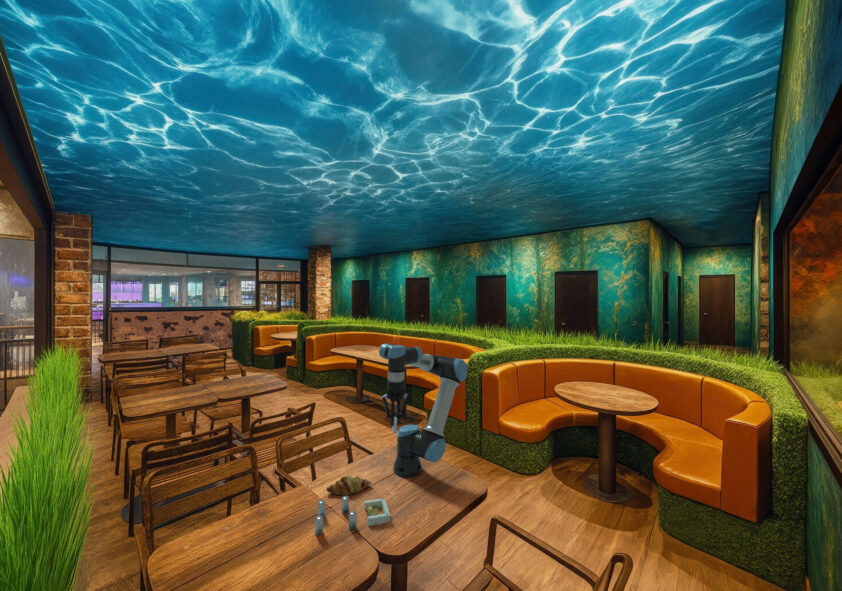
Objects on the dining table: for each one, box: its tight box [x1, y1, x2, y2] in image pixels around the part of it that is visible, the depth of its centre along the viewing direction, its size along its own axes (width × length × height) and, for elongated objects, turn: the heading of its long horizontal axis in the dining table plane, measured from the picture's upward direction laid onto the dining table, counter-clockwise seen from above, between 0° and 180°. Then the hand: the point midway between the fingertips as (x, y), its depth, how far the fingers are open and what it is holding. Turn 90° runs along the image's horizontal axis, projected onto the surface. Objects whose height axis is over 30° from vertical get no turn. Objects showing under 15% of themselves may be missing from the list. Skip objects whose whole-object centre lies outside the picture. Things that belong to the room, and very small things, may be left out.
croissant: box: [326, 475, 372, 496], centre depth 165 cm, size 21×10×8 cm, turn 113°
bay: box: [363, 497, 391, 527], centre depth 148 cm, size 12×9×3 cm
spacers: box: [314, 495, 358, 537], centre depth 143 cm, size 14×16×6 cm
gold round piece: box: [366, 504, 379, 518], centre depth 147 cm, size 5×5×4 cm
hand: (394, 432), depth 155 cm, fingers closed
